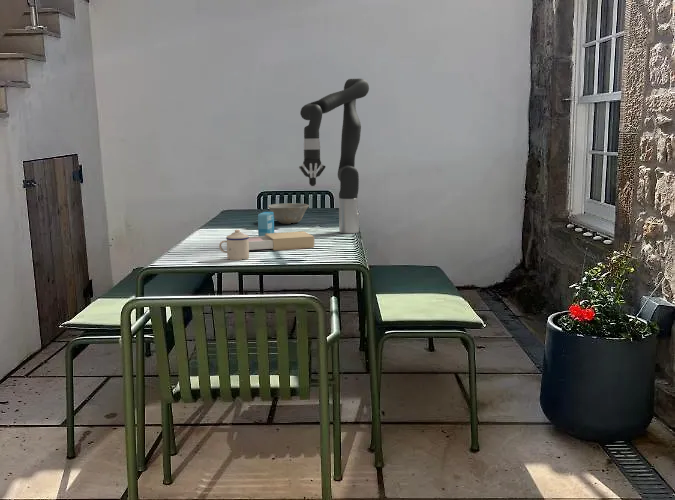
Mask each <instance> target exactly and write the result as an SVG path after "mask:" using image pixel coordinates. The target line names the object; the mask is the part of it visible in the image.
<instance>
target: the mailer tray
mask: <svg viewBox="0 0 675 500" xmlns="http://www.w3.org/2000/svg"><path fill="white" fill-rule="evenodd" d="M315 239H316V238H315V237H314V247H315V245H316V244H315V243H316V242H315ZM248 241H249V251H255V250H270V249H271V250H273V249H272V248H273V239H271V238H270V237H268V236H258V235H256V236H249V238H248Z"/></svg>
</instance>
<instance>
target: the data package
mask: <svg viewBox="0 0 675 500" xmlns="http://www.w3.org/2000/svg"><path fill="white" fill-rule="evenodd" d="M257 229H258V230H257V231H258V233H257V234H258V235H257V236H265V234H268V233H275V218H274V213H273V212H271V211H263V212H260V213H258V215H257Z"/></svg>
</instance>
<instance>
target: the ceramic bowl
mask: <svg viewBox="0 0 675 500" xmlns="http://www.w3.org/2000/svg"><path fill="white" fill-rule="evenodd" d="M267 207H268V210H269V212H273V213H274V220H276V221H277V222H279V223H280V224H283V225H292V224H291V223H293V224H296V223H299V222H301V221H302V220H303V216H304V215H305V213H306V211H307V209H309V207H310V205H309V204H307V203H296V202H295V203H291V202H290V203H287V202H286V203H285V202H284V203H273V204H269V205H268V206H267Z"/></svg>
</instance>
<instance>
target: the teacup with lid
mask: <svg viewBox="0 0 675 500" xmlns="http://www.w3.org/2000/svg"><path fill="white" fill-rule="evenodd" d="M249 237H250V236H249V235H248V234H245V233H243V232H242V231H241V230H240V229H235V230H234V232H232V233H231V234H229V235H227V236H226V237H225V239H226V240H222V241H220V243H219V244H218V245H219V246H218V247H219V250H220V251H221V252H222V253H224V254H227V255H226V256H227V259H228V260H229V259H230V261H243V260H242V259H245V260H248V259H249V258H250V250H249V241H248V238H249ZM223 243H226V250H224V249H223V248H222V244H223Z"/></svg>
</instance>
